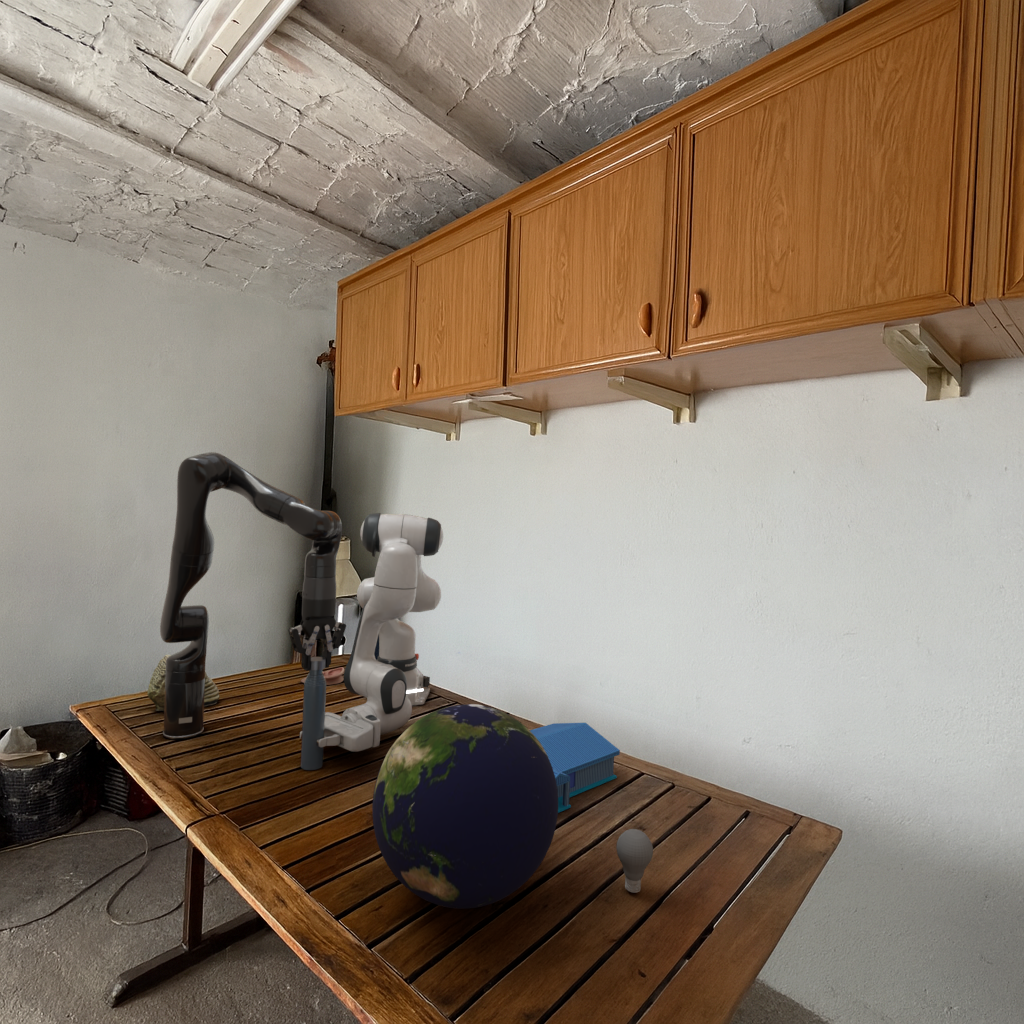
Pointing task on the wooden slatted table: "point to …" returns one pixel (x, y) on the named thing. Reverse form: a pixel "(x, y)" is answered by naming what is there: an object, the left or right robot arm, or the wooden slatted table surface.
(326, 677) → the anatomical model
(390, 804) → the globe
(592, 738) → the model building
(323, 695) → the bottle
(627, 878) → the light bulb
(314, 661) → the cap
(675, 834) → the wooden slatted table surface
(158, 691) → the fossil
